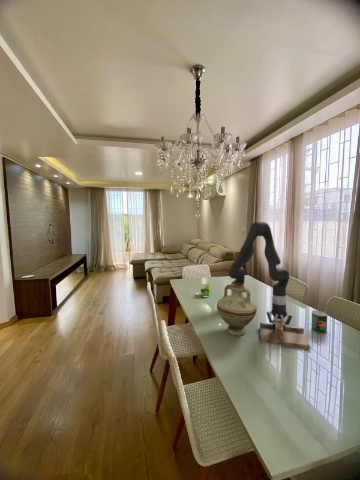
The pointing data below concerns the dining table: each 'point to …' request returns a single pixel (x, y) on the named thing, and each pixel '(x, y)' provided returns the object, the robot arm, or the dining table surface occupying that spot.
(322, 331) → the canned tomato
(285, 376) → the dining table surface
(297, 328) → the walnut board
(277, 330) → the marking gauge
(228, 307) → the amphora
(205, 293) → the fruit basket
